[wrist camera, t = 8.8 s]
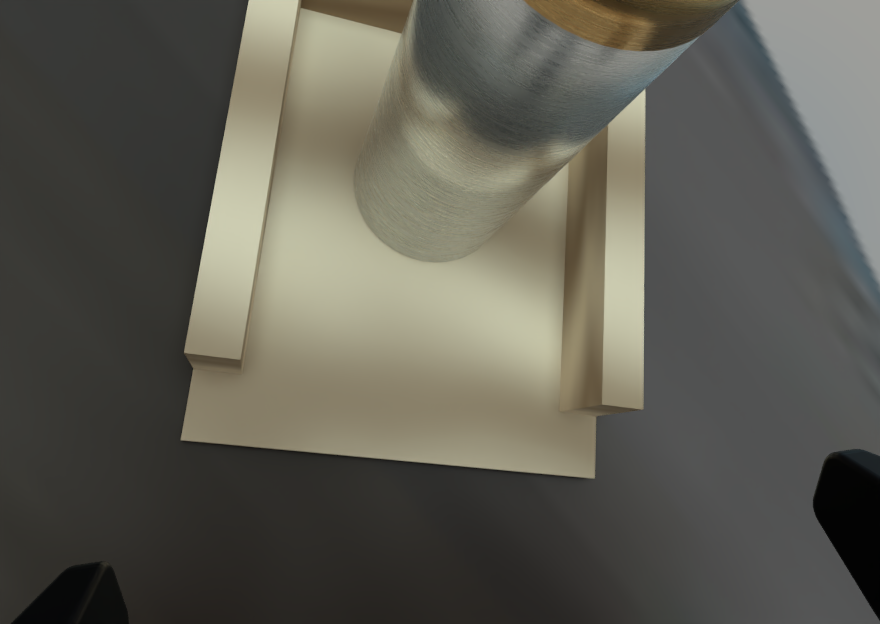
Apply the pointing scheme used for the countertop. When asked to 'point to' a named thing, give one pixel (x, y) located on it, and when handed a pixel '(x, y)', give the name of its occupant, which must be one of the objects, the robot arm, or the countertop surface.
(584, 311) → the cradle
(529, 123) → the cell
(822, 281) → the countertop surface
